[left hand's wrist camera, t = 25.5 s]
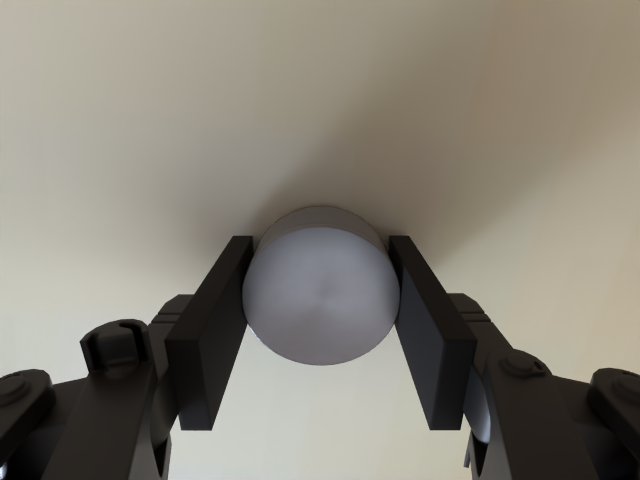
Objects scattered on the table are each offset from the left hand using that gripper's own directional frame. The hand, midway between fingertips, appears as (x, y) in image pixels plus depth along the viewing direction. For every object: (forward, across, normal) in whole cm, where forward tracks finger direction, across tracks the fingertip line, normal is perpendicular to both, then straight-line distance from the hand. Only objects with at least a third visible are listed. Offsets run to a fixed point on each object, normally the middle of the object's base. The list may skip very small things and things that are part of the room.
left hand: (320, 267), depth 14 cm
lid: (-2, 0, 0) cm, 2 cm away
